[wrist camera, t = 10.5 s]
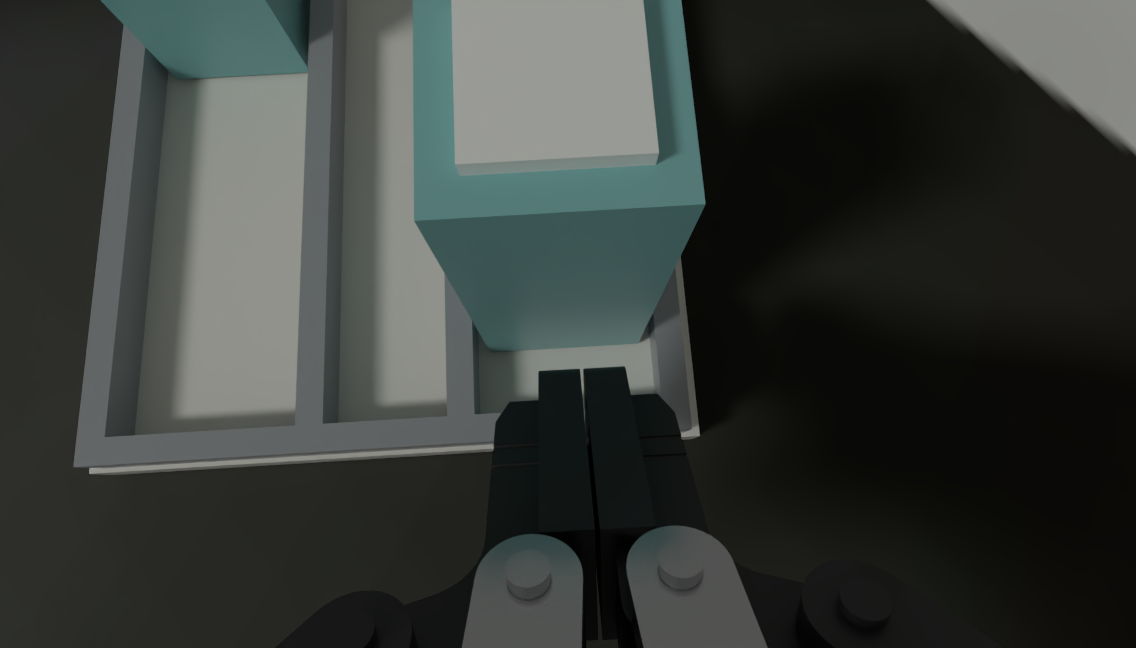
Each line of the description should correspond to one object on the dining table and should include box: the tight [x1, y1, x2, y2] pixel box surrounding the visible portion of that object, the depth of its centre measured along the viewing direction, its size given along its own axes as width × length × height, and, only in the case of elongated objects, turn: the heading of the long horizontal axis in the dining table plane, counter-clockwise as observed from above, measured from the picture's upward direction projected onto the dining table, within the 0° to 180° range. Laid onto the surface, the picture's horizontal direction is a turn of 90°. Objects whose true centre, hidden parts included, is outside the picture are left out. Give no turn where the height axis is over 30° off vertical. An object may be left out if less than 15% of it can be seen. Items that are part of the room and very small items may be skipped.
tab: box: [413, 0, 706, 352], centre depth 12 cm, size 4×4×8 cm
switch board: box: [73, 0, 700, 475], centre depth 17 cm, size 15×14×2 cm
